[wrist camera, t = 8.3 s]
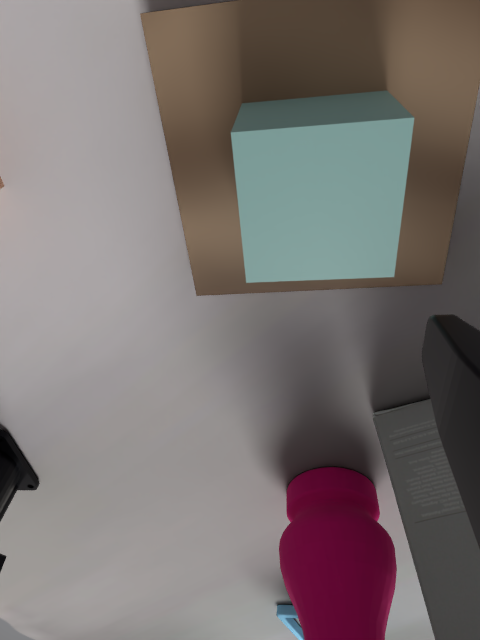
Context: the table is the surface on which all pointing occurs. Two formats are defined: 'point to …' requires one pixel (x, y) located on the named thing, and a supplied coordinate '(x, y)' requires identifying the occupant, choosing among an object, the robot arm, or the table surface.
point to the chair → (290, 619)
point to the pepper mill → (337, 556)
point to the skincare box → (433, 519)
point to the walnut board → (313, 81)
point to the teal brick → (321, 185)
